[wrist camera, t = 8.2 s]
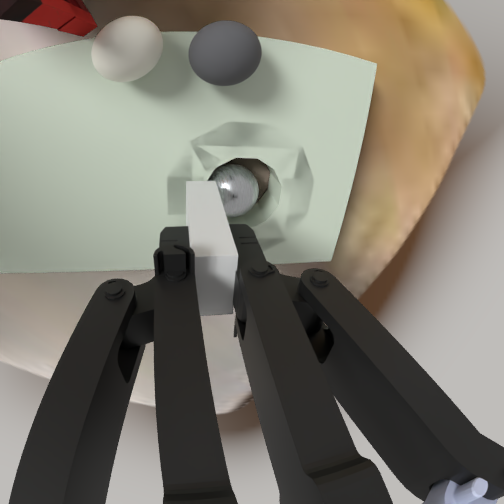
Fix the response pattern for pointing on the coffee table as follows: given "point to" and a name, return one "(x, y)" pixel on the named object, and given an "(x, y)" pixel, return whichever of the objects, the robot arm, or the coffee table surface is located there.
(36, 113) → the board
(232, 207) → the steel ball
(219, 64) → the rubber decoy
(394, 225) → the coffee table surface
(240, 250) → the robot arm
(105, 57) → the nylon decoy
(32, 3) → the mug
